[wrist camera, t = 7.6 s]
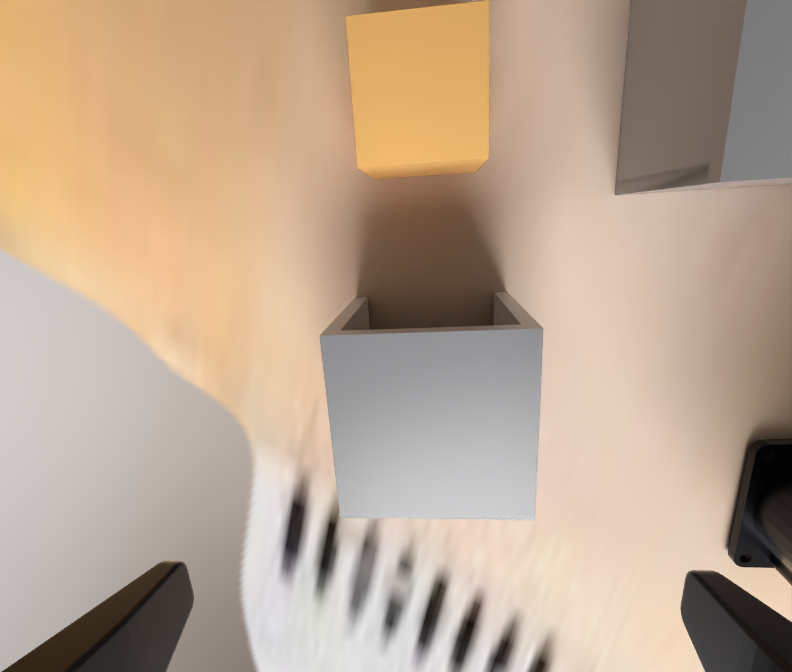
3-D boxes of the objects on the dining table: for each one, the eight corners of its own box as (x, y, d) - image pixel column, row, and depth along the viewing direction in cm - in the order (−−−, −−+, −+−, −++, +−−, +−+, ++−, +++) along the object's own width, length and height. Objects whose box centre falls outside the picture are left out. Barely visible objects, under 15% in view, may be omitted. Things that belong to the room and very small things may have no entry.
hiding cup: (503, 427, 19) (535, 519, 13) (367, 429, 20) (340, 517, 14) (506, 291, 17) (543, 328, 11) (356, 297, 18) (319, 335, 12)
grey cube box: (795, 183, 15) (1018, 162, 9) (614, 194, 16) (719, 182, 10) (836, -24, 13) (1141, -207, 8) (631, -2, 14) (769, -154, 8)
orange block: (475, 172, 16) (488, 158, 12) (374, 179, 16) (357, 167, 13) (474, 55, 15) (489, 0, 11) (367, 66, 15) (345, 16, 12)
